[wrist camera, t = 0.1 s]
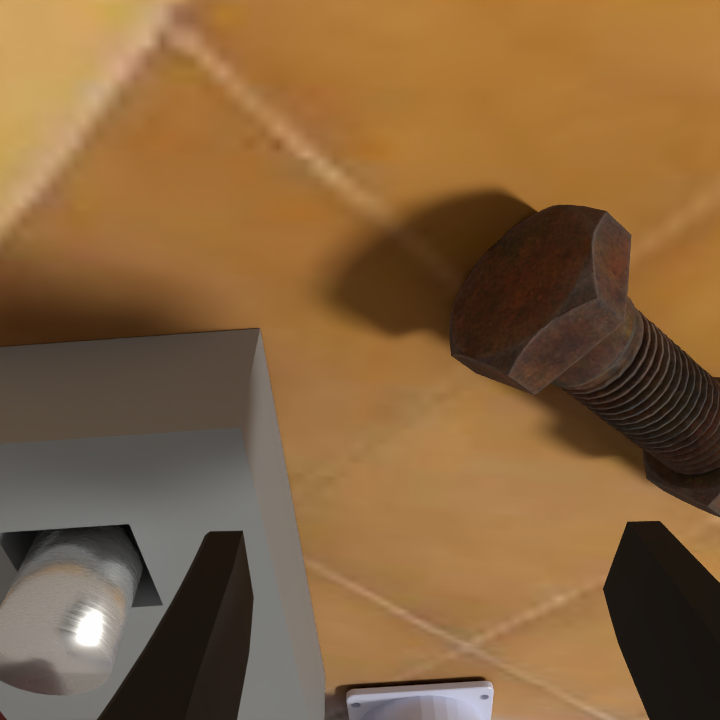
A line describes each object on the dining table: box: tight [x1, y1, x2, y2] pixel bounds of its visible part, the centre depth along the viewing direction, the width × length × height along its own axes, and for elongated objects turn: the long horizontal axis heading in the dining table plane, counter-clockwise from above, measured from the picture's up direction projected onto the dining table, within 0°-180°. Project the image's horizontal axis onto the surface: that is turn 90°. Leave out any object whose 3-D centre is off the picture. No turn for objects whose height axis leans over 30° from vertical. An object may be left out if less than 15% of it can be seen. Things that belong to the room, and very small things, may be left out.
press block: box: [0, 328, 325, 720], centre depth 25 cm, size 22×12×5 cm, turn 4°
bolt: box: [449, 205, 720, 517], centre depth 20 cm, size 6×5×15 cm
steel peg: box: [0, 524, 145, 695], centre depth 19 cm, size 4×4×5 cm
